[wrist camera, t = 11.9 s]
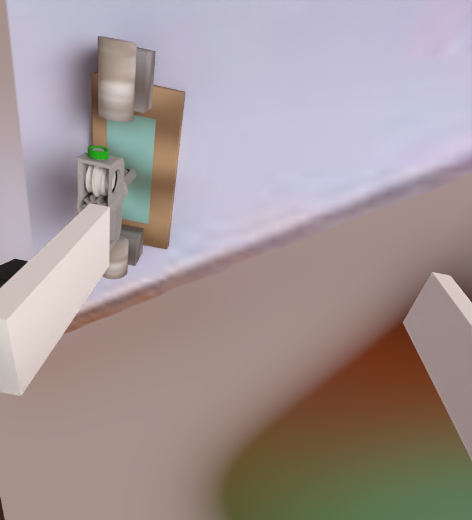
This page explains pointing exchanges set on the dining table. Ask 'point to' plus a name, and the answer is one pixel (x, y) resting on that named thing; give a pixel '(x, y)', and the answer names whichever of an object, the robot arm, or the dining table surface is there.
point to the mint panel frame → (137, 144)
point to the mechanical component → (103, 185)
